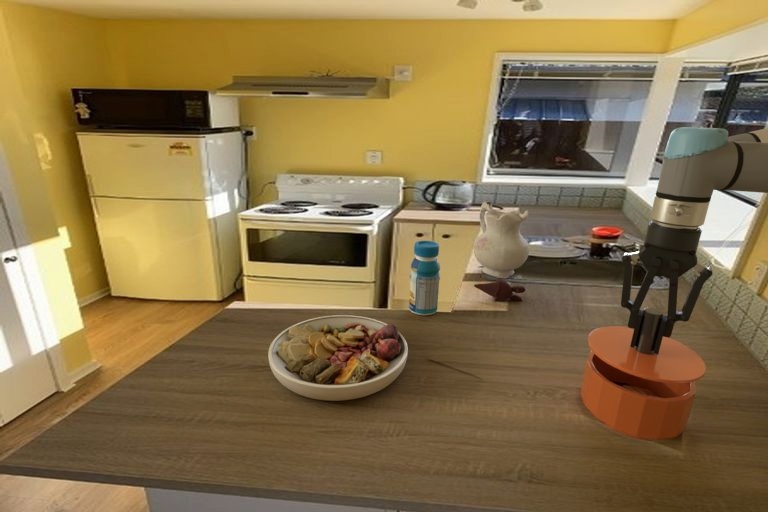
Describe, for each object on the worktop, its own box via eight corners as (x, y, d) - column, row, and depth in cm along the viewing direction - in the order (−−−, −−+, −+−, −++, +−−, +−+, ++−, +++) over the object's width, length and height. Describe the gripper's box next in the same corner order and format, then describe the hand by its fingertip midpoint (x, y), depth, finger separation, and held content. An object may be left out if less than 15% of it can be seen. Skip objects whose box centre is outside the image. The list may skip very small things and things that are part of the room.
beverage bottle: (426, 319, 116) (430, 250, 110) (402, 310, 122) (405, 243, 115) (443, 309, 123) (448, 243, 116) (419, 301, 128) (423, 237, 121)
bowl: (286, 427, 75) (283, 389, 73) (259, 346, 101) (257, 316, 99) (432, 387, 87) (434, 354, 85) (375, 324, 113) (375, 297, 111)
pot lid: (702, 350, 81) (715, 306, 78) (706, 401, 66) (722, 349, 63) (595, 322, 91) (604, 283, 88) (578, 361, 76) (587, 315, 73)
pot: (684, 402, 85) (695, 365, 82) (683, 456, 71) (696, 414, 68) (589, 372, 94) (596, 338, 91) (572, 415, 80) (579, 376, 78)
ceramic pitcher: (456, 270, 157) (458, 205, 148) (487, 256, 169) (490, 195, 160) (507, 288, 142) (513, 217, 133) (537, 271, 154) (544, 204, 145)
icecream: (474, 283, 126) (526, 293, 122) (476, 269, 132) (526, 279, 128) (470, 301, 129) (521, 311, 126) (473, 287, 135) (521, 296, 132)
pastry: (638, 391, 87) (642, 375, 86) (668, 413, 81) (673, 396, 79) (601, 399, 84) (605, 382, 83) (628, 422, 78) (633, 404, 77)
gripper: (618, 220, 72) (593, 342, 79) (738, 237, 64) (697, 371, 71) (623, 213, 78) (600, 327, 85) (734, 227, 69) (697, 352, 77)
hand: (644, 347), depth 78 cm, fingers closed on pot lid, 3 cm apart
